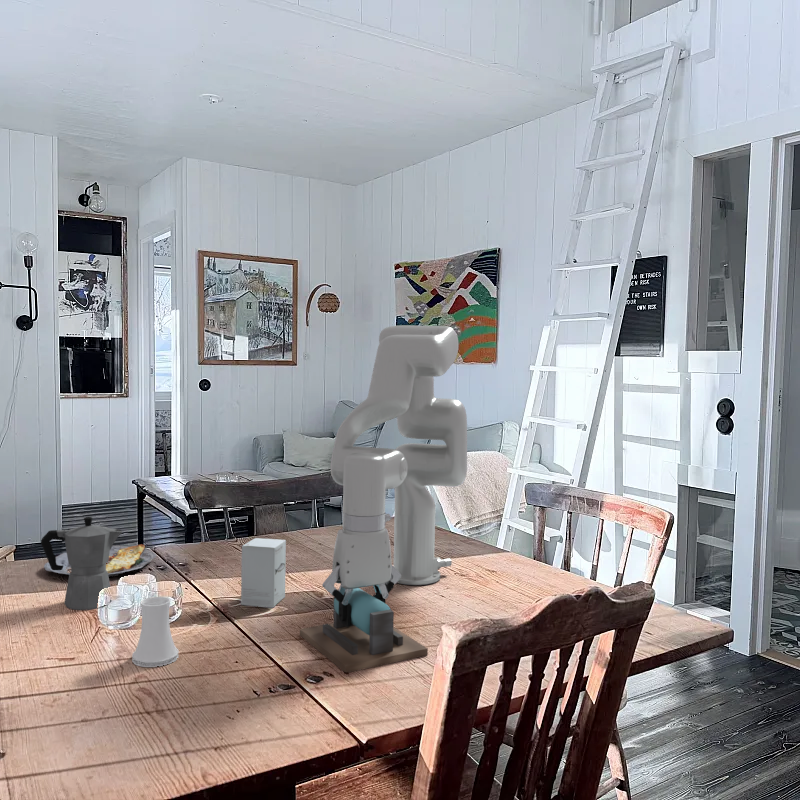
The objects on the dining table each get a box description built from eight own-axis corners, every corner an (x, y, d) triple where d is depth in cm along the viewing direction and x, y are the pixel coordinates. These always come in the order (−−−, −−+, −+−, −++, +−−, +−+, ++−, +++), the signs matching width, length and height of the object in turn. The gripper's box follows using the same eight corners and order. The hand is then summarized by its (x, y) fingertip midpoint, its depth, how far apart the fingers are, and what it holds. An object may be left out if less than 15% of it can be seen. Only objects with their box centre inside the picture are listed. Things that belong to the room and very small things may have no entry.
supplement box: (273, 608, 158) (274, 547, 158) (240, 605, 160) (240, 545, 159) (286, 597, 166) (286, 539, 165) (253, 594, 167) (254, 536, 166)
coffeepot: (122, 593, 166) (122, 510, 165) (123, 607, 157) (122, 519, 156) (43, 600, 161) (42, 514, 160) (39, 615, 152) (38, 524, 151)
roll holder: (375, 621, 152) (376, 580, 151) (427, 655, 136) (428, 609, 135) (299, 635, 144) (300, 592, 143) (345, 673, 127) (346, 624, 127)
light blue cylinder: (333, 619, 142) (334, 587, 142) (361, 615, 145) (363, 583, 145) (361, 638, 133) (362, 604, 133) (391, 633, 136) (392, 600, 136)
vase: (152, 671, 127) (152, 611, 126) (122, 660, 131) (122, 602, 130) (187, 656, 133) (188, 599, 132) (158, 646, 137) (158, 591, 136)
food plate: (77, 551, 199) (77, 537, 199) (167, 554, 198) (167, 541, 198) (28, 583, 174) (28, 567, 174) (130, 587, 173) (130, 571, 173)
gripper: (394, 514, 146) (393, 608, 147) (310, 522, 137) (309, 622, 138) (415, 522, 139) (413, 620, 140) (328, 531, 131) (327, 636, 132)
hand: (362, 620), depth 139 cm, fingers closed on light blue cylinder, 5 cm apart
